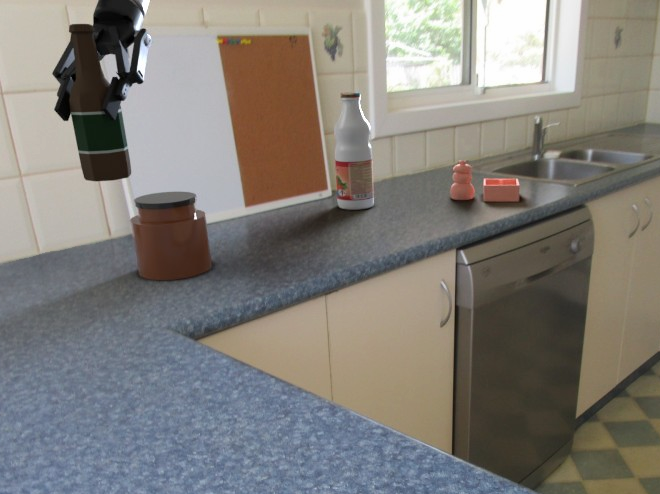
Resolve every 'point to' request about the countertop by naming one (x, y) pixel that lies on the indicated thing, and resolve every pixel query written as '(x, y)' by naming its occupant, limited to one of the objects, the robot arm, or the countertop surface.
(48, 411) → the countertop surface
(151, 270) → the jar
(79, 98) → the beer bottle
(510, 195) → the pottery
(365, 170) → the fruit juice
